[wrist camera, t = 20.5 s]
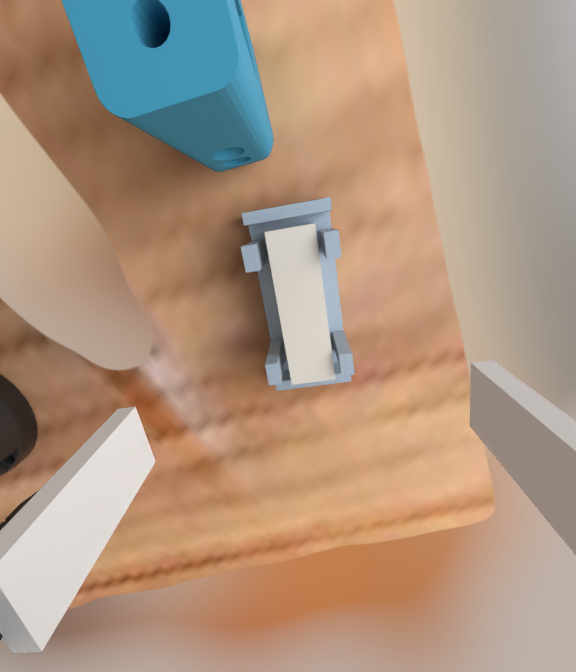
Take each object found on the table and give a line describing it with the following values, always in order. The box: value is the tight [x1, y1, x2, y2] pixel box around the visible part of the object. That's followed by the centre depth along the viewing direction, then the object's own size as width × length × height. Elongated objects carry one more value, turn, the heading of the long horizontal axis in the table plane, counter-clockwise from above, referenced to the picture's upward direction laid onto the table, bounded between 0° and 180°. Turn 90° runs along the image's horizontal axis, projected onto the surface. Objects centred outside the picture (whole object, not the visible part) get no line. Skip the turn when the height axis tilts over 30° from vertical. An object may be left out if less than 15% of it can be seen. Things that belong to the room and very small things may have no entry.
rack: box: [241, 197, 354, 391], centre depth 30 cm, size 17×8×7 cm, turn 9°
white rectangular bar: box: [264, 223, 335, 385], centre depth 30 cm, size 14×4×5 cm, turn 9°
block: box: [62, 0, 273, 172], centre depth 19 cm, size 12×5×20 cm, turn 14°
